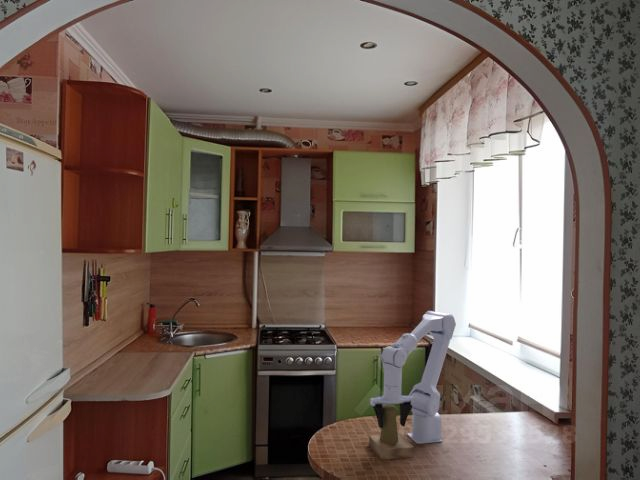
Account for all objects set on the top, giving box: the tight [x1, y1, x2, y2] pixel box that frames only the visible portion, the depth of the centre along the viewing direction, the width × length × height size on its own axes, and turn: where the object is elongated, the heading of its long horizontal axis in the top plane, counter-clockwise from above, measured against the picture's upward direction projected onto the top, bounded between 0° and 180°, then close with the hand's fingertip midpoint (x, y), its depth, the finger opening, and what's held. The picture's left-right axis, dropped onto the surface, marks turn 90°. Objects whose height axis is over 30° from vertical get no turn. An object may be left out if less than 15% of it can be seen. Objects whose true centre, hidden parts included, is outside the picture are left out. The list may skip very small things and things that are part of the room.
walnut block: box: [368, 432, 415, 460], centre depth 156 cm, size 11×11×3 cm
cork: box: [379, 404, 399, 444], centre depth 157 cm, size 6×6×11 cm
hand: (391, 426), depth 156 cm, fingers open, 7 cm apart
